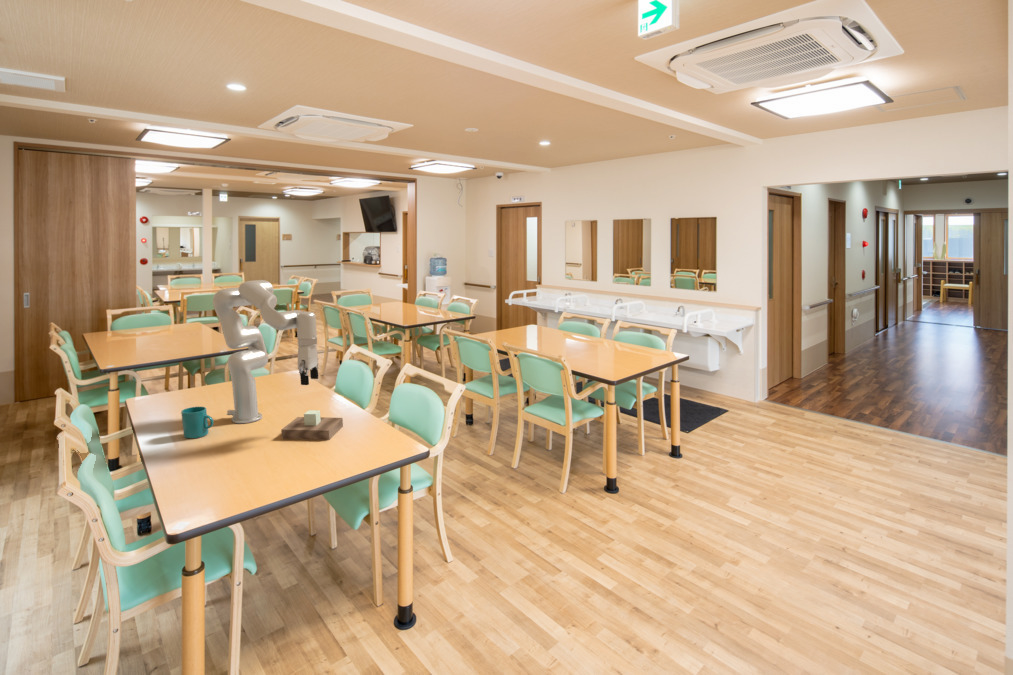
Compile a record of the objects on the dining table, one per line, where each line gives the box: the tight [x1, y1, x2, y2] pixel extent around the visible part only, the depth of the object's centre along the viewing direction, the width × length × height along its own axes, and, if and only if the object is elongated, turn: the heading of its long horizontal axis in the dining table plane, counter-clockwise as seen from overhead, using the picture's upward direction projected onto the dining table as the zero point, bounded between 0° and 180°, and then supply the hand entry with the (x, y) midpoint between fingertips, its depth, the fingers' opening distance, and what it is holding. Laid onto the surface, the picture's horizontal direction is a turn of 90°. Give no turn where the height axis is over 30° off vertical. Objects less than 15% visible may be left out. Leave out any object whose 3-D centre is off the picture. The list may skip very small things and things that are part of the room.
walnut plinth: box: [280, 416, 344, 441], centre depth 228 cm, size 20×16×4 cm
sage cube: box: [303, 409, 321, 426], centre depth 227 cm, size 5×5×5 cm
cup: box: [180, 406, 215, 439], centre depth 223 cm, size 9×12×11 cm
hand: (309, 381), depth 224 cm, fingers open, 9 cm apart
